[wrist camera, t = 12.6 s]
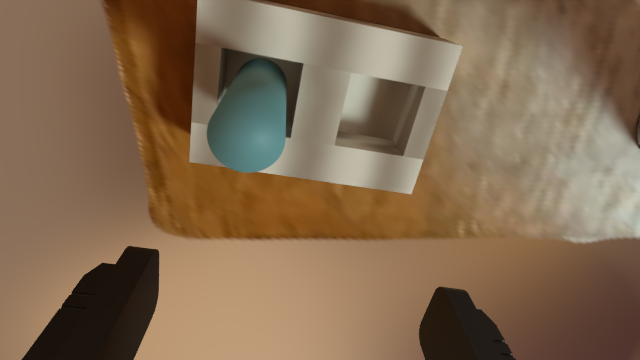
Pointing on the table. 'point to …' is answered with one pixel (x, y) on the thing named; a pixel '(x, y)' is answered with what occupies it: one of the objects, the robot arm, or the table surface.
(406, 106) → the hole board
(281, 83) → the pin
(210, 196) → the table surface
